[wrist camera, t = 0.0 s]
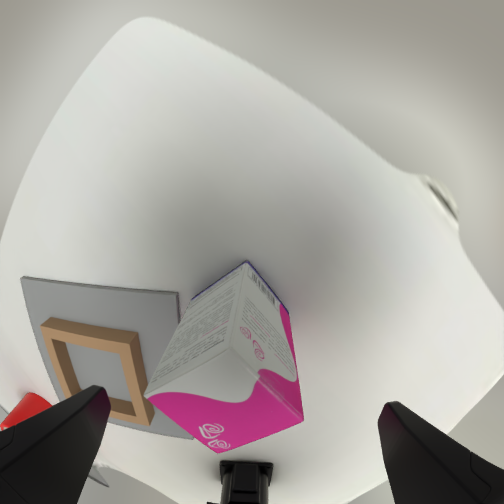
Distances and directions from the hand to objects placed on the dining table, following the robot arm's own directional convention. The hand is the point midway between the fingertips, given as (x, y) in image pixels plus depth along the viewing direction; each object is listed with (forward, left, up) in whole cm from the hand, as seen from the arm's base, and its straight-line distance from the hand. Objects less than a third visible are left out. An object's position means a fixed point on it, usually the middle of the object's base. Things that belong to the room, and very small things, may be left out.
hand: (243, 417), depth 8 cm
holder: (-11, +15, -15) cm, 24 cm away
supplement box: (-3, +1, -15) cm, 15 cm away
